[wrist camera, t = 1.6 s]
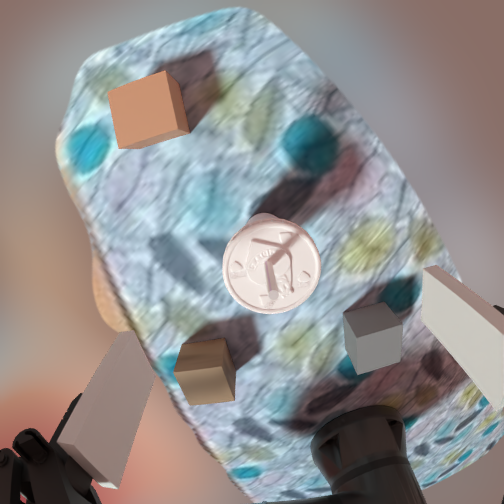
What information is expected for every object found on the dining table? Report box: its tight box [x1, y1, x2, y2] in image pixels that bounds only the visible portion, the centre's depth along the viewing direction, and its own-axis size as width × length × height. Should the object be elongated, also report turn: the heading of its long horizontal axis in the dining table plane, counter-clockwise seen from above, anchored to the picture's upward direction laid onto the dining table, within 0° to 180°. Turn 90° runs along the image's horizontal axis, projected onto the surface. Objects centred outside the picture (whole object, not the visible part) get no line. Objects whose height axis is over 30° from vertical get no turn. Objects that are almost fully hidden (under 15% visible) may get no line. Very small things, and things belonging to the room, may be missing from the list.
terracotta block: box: [108, 71, 190, 149], centre depth 22 cm, size 5×5×5 cm
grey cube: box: [343, 302, 403, 375], centre depth 29 cm, size 5×5×5 cm
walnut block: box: [173, 338, 236, 405], centre depth 30 cm, size 5×5×5 cm
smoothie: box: [223, 213, 321, 314], centre depth 21 cm, size 6×6×14 cm
